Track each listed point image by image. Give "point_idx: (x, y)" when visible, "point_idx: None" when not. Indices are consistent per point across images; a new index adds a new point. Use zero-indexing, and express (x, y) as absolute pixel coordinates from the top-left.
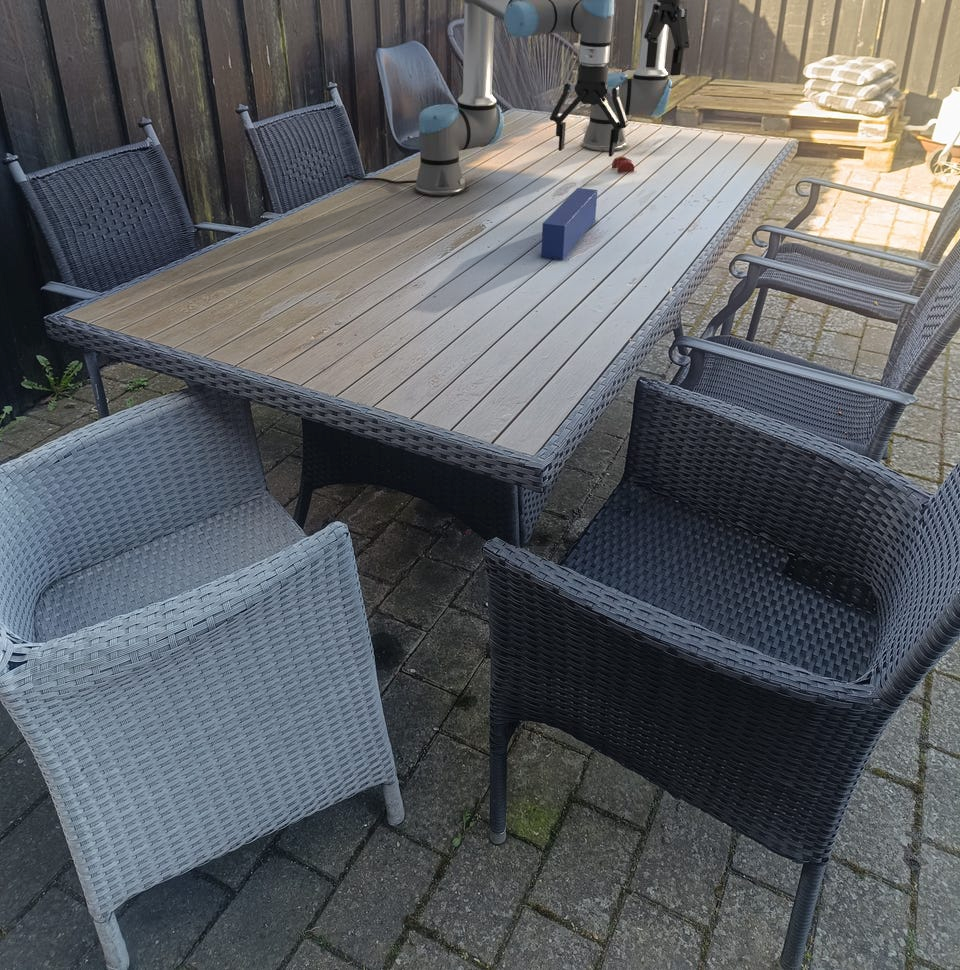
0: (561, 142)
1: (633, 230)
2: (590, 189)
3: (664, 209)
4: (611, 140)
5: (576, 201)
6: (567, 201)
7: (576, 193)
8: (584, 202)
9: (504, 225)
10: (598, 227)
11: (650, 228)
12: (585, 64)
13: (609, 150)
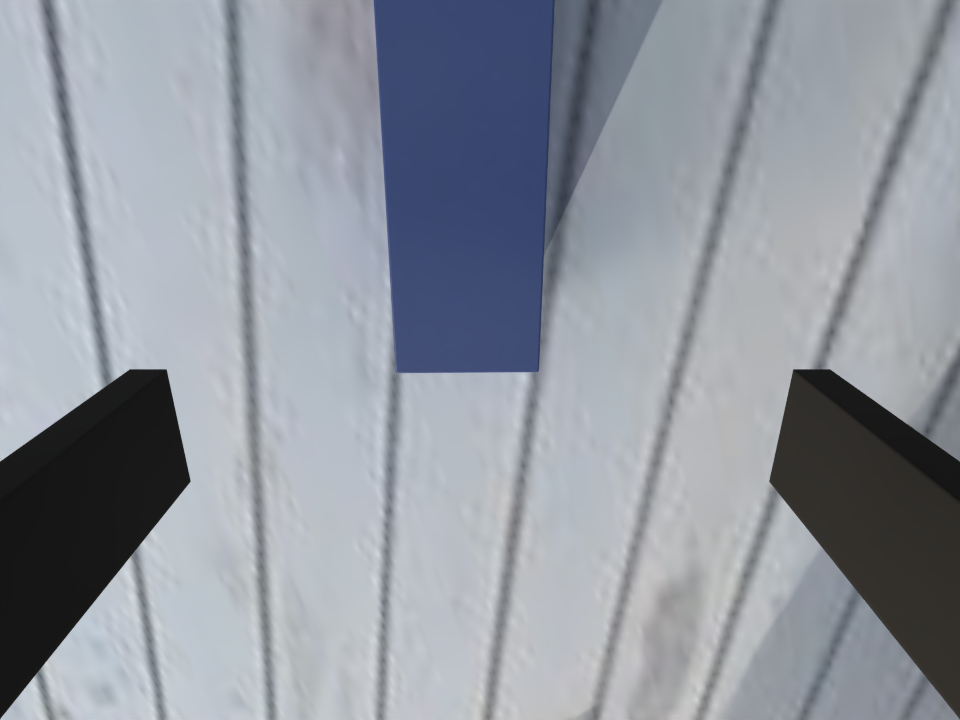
0: (856, 418)
1: (181, 246)
2: (443, 366)
3: (176, 572)
4: (2, 478)
5: (457, 35)
6: (527, 4)
7: (512, 243)
8: (388, 32)
9: (893, 55)
10: (368, 225)
11: (117, 309)
12: None
13: (120, 402)
